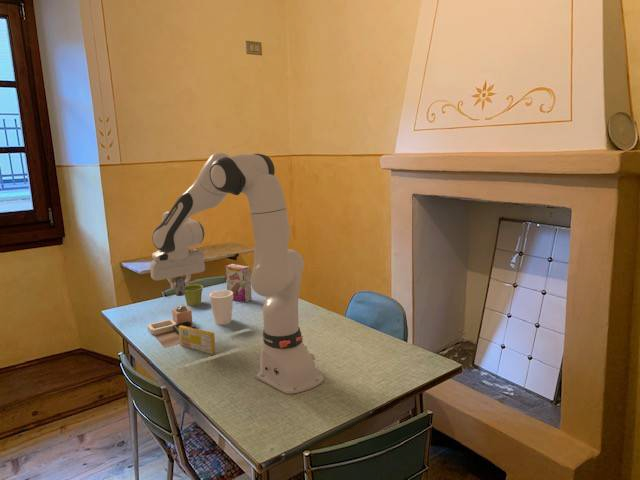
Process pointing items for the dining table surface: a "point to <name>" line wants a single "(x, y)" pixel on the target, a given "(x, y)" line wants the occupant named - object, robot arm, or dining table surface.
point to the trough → (161, 326)
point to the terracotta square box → (182, 316)
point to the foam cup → (222, 306)
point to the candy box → (197, 339)
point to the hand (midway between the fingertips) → (180, 286)
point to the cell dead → (181, 309)
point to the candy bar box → (239, 282)
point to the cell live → (179, 285)
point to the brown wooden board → (172, 335)
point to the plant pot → (193, 294)
